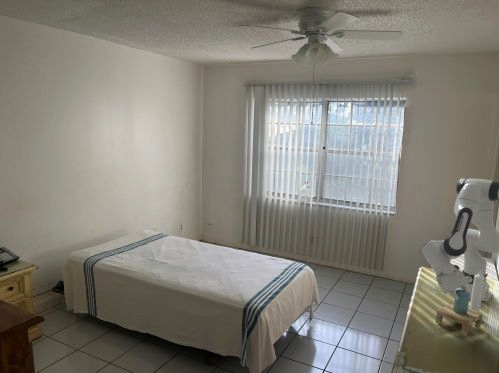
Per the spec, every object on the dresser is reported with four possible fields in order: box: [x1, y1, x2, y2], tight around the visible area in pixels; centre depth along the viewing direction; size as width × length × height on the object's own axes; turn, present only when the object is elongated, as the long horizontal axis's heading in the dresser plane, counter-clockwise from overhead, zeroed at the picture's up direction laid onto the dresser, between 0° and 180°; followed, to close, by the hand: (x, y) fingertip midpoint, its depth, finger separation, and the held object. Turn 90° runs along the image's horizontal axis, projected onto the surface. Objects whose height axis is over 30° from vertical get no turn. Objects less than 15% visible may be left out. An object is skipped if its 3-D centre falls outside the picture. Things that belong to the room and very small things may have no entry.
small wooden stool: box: [435, 302, 483, 337], centre depth 186 cm, size 16×14×7 cm
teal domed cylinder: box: [453, 290, 470, 315], centre depth 184 cm, size 6×6×10 cm
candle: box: [469, 270, 485, 313], centre depth 195 cm, size 7×7×25 cm
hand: (462, 297), depth 184 cm, fingers open, 8 cm apart
